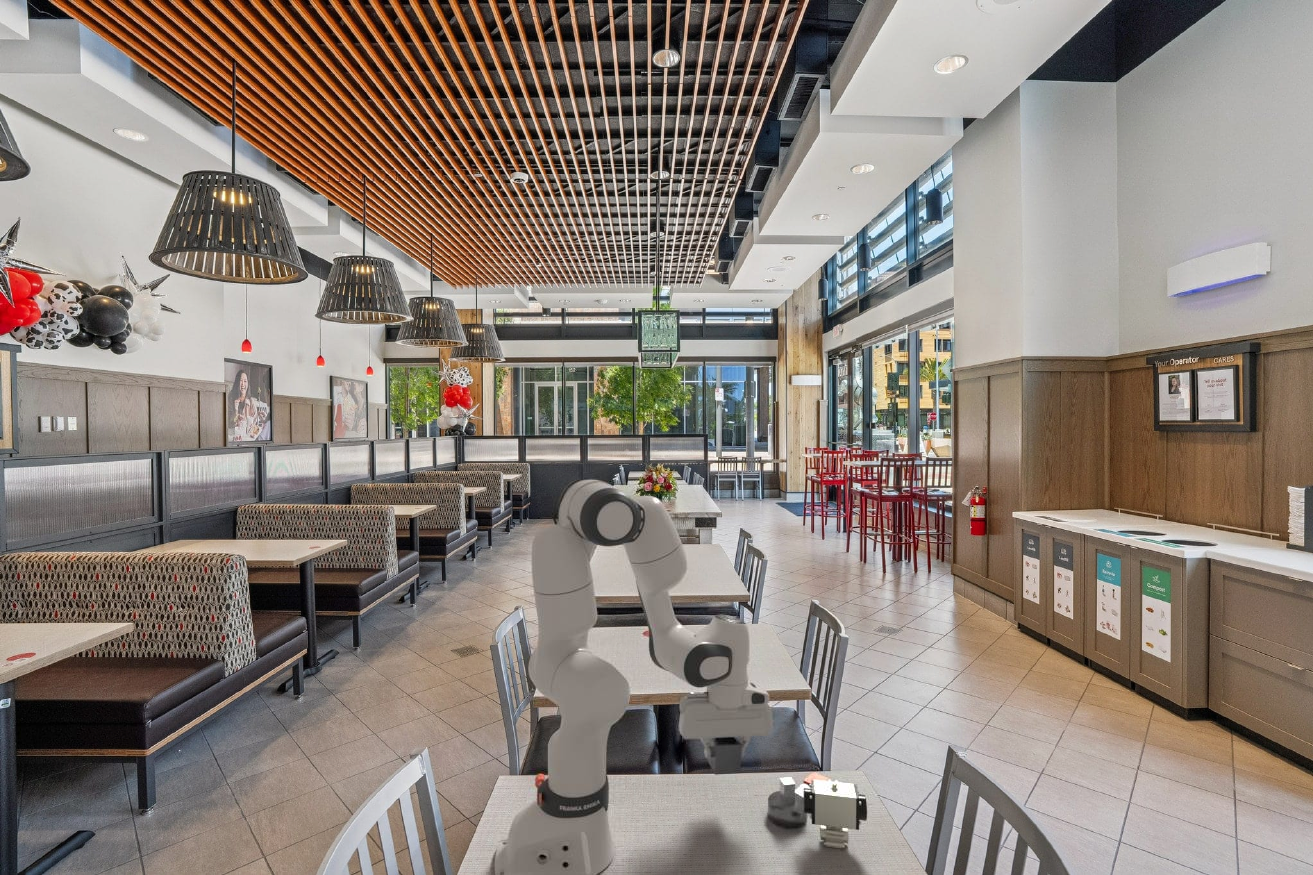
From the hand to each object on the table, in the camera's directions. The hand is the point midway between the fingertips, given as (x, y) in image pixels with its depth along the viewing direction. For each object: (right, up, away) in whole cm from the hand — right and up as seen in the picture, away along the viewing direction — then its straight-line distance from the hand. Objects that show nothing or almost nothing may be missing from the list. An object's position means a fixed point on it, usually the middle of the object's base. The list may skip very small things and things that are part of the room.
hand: (724, 755), depth 131 cm
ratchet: (+16, -11, 0) cm, 20 cm away
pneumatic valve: (+20, -12, -11) cm, 26 cm away
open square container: (0, -2, 0) cm, 2 cm away
